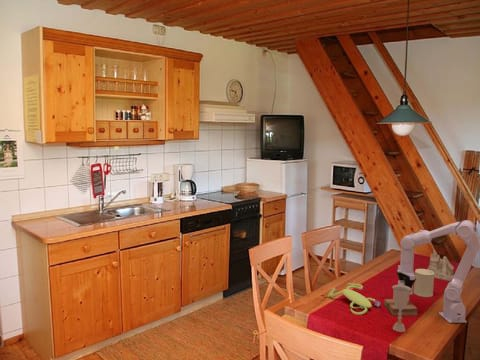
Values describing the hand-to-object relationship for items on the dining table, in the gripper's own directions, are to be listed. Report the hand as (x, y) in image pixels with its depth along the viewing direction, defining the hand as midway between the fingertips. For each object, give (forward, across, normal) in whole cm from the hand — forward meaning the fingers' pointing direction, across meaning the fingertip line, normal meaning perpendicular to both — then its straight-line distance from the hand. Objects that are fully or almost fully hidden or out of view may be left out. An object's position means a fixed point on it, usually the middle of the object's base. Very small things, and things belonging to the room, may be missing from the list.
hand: (405, 289), depth 200 cm
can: (+9, -15, +16) cm, 24 cm away
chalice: (+9, +22, -11) cm, 26 cm away
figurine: (+9, -6, -22) cm, 25 cm away
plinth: (+8, +4, -4) cm, 10 cm away
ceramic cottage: (+9, -42, +39) cm, 58 cm away
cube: (+2, 0, 0) cm, 2 cm away
